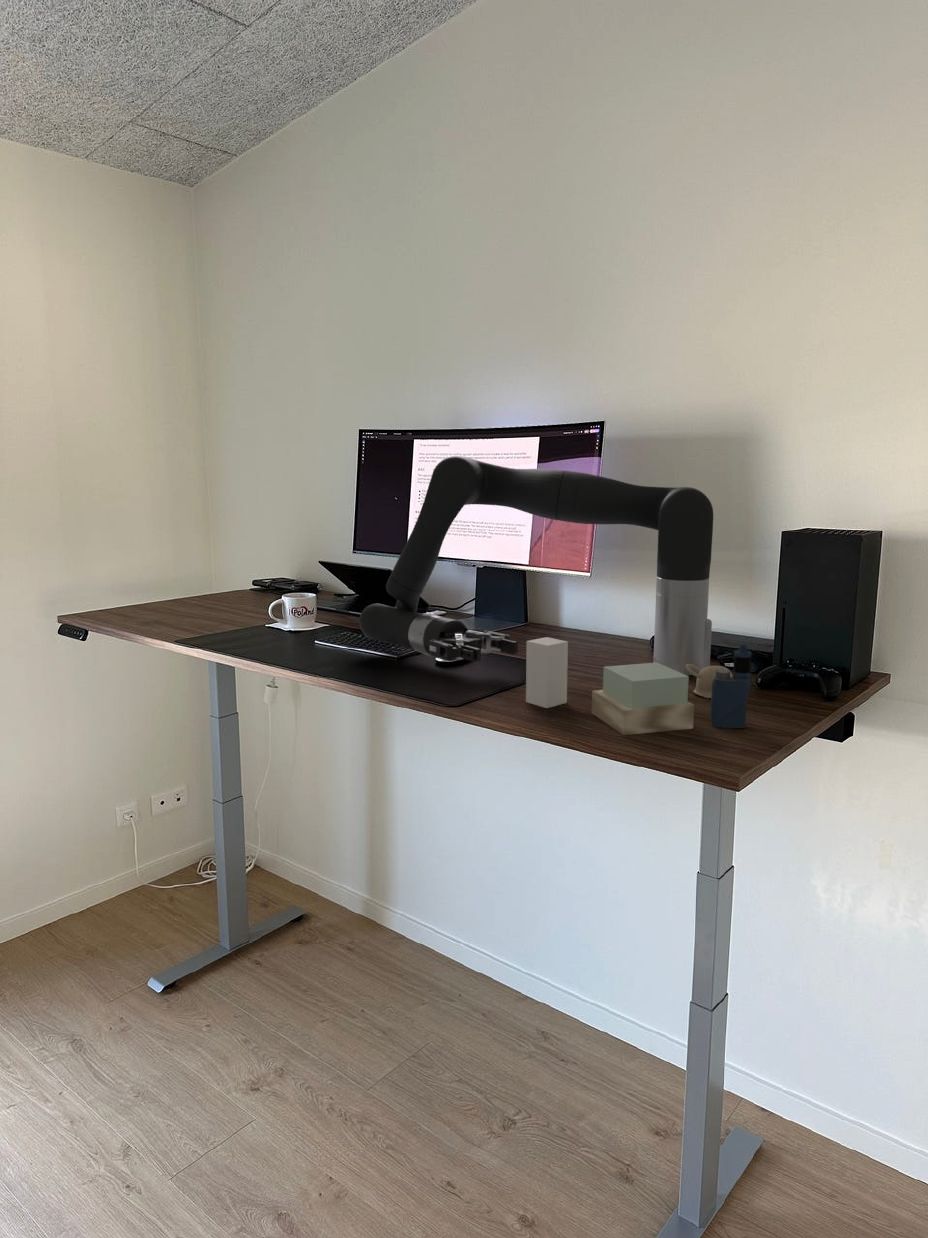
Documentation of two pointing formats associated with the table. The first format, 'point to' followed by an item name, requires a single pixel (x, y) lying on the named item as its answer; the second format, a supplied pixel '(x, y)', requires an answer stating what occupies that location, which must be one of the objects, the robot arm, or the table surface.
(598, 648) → the table surface
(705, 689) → the decorative ornament
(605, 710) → the base block
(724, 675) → the vaping device
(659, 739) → the table surface
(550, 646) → the white block
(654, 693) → the top block
